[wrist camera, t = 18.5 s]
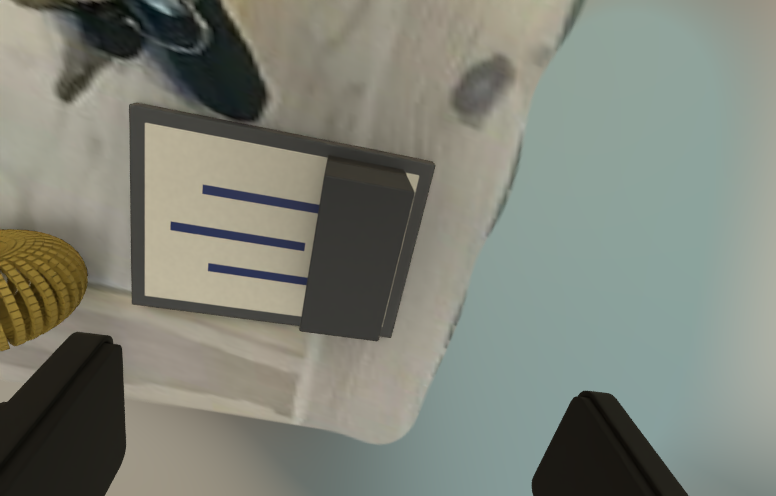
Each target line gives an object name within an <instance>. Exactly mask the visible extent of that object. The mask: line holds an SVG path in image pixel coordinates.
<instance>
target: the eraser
mask: <svg viewBox="0 0 776 496" xmlns="http://www.w3.org/2000/svg"><path fill="white" fill-rule="evenodd" d="M414 195H415V192H414V190H413V187H412V185H411V183H410V181H409V179H408V177H407V174H406V172H405V170H402V169H397V168H392V167H387V166H382V165H376V164H371V163H366V162H361V161H356V160H351V159H346V158H340V157H335V156H330V155H328V158H327V163H326V168H325V174H324V179H323V186H322V192H321V198H320V204H319V210H318V217H317V223H316V229H315V235H314V241H313V248H312V254H311V260H310V266H309V272H308V279H307V285H306V291H305V297H304V303H303V310H302V316H301V322H300V328H299V330H300V331H302V332H310V333H317V334H325V335H333V336H341V337H348V338H356V339H364V340H372V341H378V340H379V337H380V333H381V329H382V325H383V320H384V316H385V312H386V308H387V304H388V300H389V296H390V292H391V288H392V284H393V280H394V276H395V272H396V268H397V264H398V260H399V255H400V251H401V247H402V243H403V239H404V235H405V231H406V227H407V223H408V219H409V215H410V211H411V207H412V203H413V199H414Z"/></svg>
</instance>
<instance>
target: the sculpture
mask: <svg viewBox="0 0 776 496" xmlns="http://www.w3.org/2000/svg"><path fill="white" fill-rule="evenodd" d="M84 264H85V263H84V261H83V260H82V257H81V256H80V255H79V254H78V252H77V251H75V249H74V248H73V247H72V246H70V244H68V243H66V242H64V241H63V240H62V239H59V238H57V237H55V236H52V235H50V234H49V235H48V234H45V233H42V232H37V231H29V230H14V229H7V230H4V229H2V230H0V271H1V272H2V273H3V274H4V273H5V275H6V276H8V278H7V283H5V282H6V281H5V280H3V279H4V278H2V277H3V276H2V275H1V273H0V351H4V350H5V349H6V350H7V349H10V347H9V344H8V342H9V343H10V344H12V345H13V346H18V345H19V344H20V345H21V344H23V343H25V342H26V341H27V340H28V341H29V340H33V338H34V339H35V337H36V338H37V337H38V336H39V335H41V334H44V333H46V332H48V331H49V330H51V329H52V328H54V327H55V326H57V325H58V324H60V323H61V322H63V320H64V319H65V318H67V317H68V316H69V315H70V314H71V313H72V312H73V311H74V310H75V308H76V307H78V305H79V304H80V302H81V300H82V299H83V296H84V295H85V292H86V288H87V283H88V281H87V280H88V278H87V276H88V274H87V268H86V267H85V265H84ZM31 265H32V266H31ZM30 266H31V267H30ZM32 268H33V269H32ZM17 269H18V271H19V272H20V273H19V272H18V271H17ZM20 270H21V271H20ZM20 275H21V276H20ZM42 275H44V278H43V277H42ZM41 277H42V278H43V279H44V280H43V279H42V278H41ZM30 282H31V284H30ZM29 284H30V285H31V286H29ZM49 284H50V285H49ZM7 286H8V287H7ZM17 288H18V289H17ZM16 291H17V292H16ZM15 292H16V293H17V294H15ZM4 297H5V298H4Z"/></svg>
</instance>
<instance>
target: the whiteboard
mask: <svg viewBox="0 0 776 496" xmlns="http://www.w3.org/2000/svg"><path fill="white" fill-rule="evenodd" d="M129 122H130V199H131V276H132V304H134V305H142V306H149V307H157V308H165V309H172V310H180V311H188V312H195V313H203V314H211V315H219V316H226V317H234V318H242V319H249V320H257V321H265V322H272V323H280V324H288V325H295V326H300V322H301V316H302V310H303V303H304V297H305V291H306V285H307V279H308V272H309V266H310V260H311V254H312V248H313V241H314V235H315V229H316V223H317V217H318V210H319V204H320V198H321V192H322V186H323V179H324V174H325V168H326V163H327V158H328V155H330V156H335V157H340V158H346V159H351V160H356V161H361V162H366V163H371V164H376V165H382V166H387V167H392V168H397V169H402V170H405V172H406V174H407V177H408V179H409V181H410V183H411V185H412V187H413V190H414V192H415V195H414V199H413V203H412V207H411V211H410V215H409V219H408V223H407V227H406V231H405V235H404V239H403V243H402V247H401V251H400V255H399V260H398V264H397V268H396V272H395V276H394V280H393V284H392V288H391V292H390V296H389V300H388V304H387V308H386V312H385V316H384V320H383V325H382V329H381V333H380V337H387V338H391V336H392V332H393V328H394V324H395V320H396V317H397V313H398V309H399V305H400V301H401V297H402V293H403V289H404V286H405V282H406V278H407V274H408V270H409V266H410V262H411V258H412V254H413V251H414V247H415V243H416V239H417V235H418V231H419V227H420V223H421V220H422V216H423V212H424V208H425V204H426V200H427V196H428V192H429V189H430V185H431V181H432V177H433V173H434V169H435V164H434V163H433V162H432V161H428V160H422V159H417V158H412V157H407V156H402V155H397V154H392V153H387V152H382V151H377V150H372V149H367V148H362V147H357V146H352V145H347V144H342V143H337V142H332V141H327V140H322V139H317V138H312V137H307V136H302V135H297V134H292V133H287V132H282V131H277V130H272V129H267V128H262V127H257V126H252V125H247V124H242V123H237V122H232V121H227V120H222V119H216V118H211V117H206V116H201V115H196V114H191V113H186V112H181V111H176V110H171V109H166V108H161V107H156V106H151V105H146V104H141V103H133V104H130V105H129Z"/></svg>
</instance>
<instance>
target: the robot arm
mask: <svg viewBox="0 0 776 496" xmlns="http://www.w3.org/2000/svg"><path fill="white" fill-rule="evenodd" d="M125 450H126V433H125V407H124V382H123V357H122V347H121V345H117V344H113V339H112V337H111V336H108V335H100V334H91V333H83V332H75V333H73V334H72V335H70V336H69V337H68V338H67V339H66V340H65V341H64V342H63V344H62V345H61V346H60V347H59V348H58V349H57V350H56V351H55V352H54V353H53V354H52V355H51V356H50V357H49V358H48V359H47V361H46V362H45V363H44V364H43V365H42V366H41V367H40V368H39V369H38V370H37V371H36V372H35V373H34V374H33V375H32V376H31V378H30V379H29V380H28V381H27V382H26V383H25V384H24V385H23V386H22V387H21V388H20V389H19V390H18V391H17V392H16V393H15V395H14V396H13V397H12V398H11V399H10V400H9V401H8V402H2V403H0V496H105V494H106V492H107V490H108V488H109V486H110V484H111V483H112V481H113V479H114V477H115V475H116V473H117V472H118V470H119V468H120V466H121V464H122V461H123V458H124V455H125ZM532 493H533V496H688V494H687V493H686V492H685V490H684V489H683V488H682V486H681V485H680V484H679V482H678V481H677V480H676V478H675V477H674V476H673V474H672V473H671V472H670V470H669V469H668V468H667V466H666V465H665V464H664V462H663V461H662V459H661V458H660V457H659V455H658V454H657V453H656V451H655V450H654V449H653V447H652V446H651V445H650V443H649V442H648V441H647V439H646V438H645V437H644V435H643V434H642V433H641V431H640V430H639V429H638V428H637V426H636V425H635V423H634V422H633V421H632V419H631V418H630V417H629V415H628V414H627V413H626V411H625V410H624V409H623V407H622V406H621V405H620V403H619V402H618V401H617V399H616V398H615V397H614V396H613V395H611V394H609V393H602V392H592V391H583V392H581V393H580V394H579V395H578V397H574V398H573V399H572V401H571V402H570V404H569V407H568V408H567V411H566V413H565V415H564V416H563V418H562V420H561V422H560V424H559V426H558V428H557V430H556V432H555V434H554V436H553V438H552V440H551V442H550V445H549V446H548V448H547V450H546V452H545V454H544V456H543V458H542V460H541V463H540V464H539V467H538V468H537V471H536V472H535V474H534V476H533V479H532Z"/></svg>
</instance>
